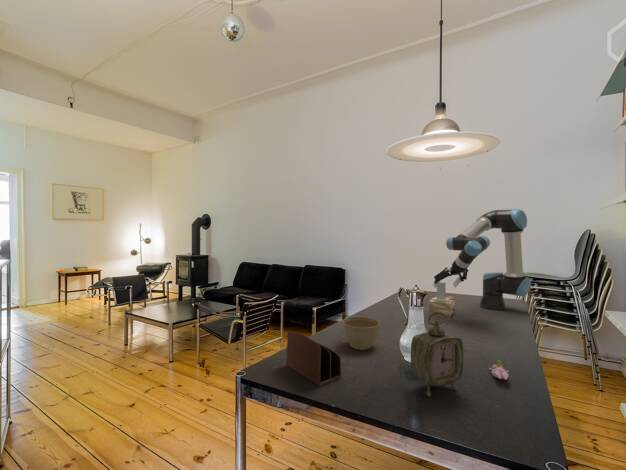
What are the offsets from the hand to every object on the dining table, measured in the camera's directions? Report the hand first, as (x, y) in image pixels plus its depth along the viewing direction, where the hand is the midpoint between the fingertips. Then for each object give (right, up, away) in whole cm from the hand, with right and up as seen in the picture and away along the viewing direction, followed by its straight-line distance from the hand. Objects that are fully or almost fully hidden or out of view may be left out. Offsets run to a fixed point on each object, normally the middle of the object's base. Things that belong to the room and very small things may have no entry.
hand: (444, 285), depth 192 cm
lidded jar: (+7, -18, +16) cm, 25 cm away
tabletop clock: (-40, -19, -89) cm, 99 cm away
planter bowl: (-58, -19, -52) cm, 80 cm away
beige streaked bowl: (-1, -18, +4) cm, 18 cm away
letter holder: (-79, -19, -77) cm, 112 cm away
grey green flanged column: (-1, -12, +4) cm, 13 cm away
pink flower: (-14, -19, -80) cm, 84 cm away
